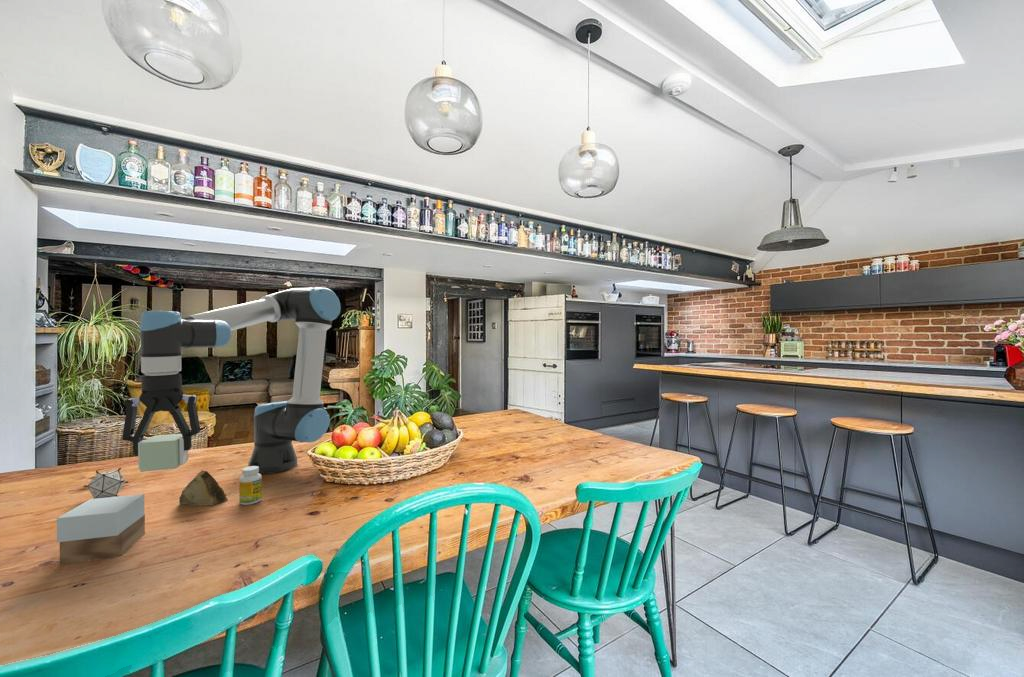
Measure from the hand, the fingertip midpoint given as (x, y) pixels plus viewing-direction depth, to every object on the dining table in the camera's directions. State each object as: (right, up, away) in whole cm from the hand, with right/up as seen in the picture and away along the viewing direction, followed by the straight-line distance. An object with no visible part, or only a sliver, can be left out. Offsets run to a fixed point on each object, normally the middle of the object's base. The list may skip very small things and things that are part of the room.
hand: (163, 465), depth 100 cm
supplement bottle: (+12, -15, +15) cm, 24 cm away
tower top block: (-4, -10, -11) cm, 15 cm away
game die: (-30, -15, +16) cm, 37 cm away
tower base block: (-4, -15, -11) cm, 19 cm away
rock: (-1, -15, +14) cm, 20 cm away
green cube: (0, 0, +1) cm, 1 cm away
